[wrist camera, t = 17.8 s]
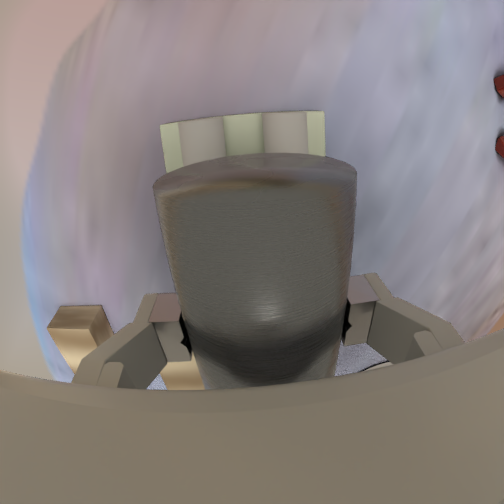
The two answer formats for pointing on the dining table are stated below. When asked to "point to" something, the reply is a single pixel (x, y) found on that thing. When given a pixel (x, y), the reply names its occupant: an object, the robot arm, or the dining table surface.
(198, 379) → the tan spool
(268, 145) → the plate with parallel rods
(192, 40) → the dining table surface
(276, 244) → the axle
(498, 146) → the teeth model
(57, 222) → the dining table surface
